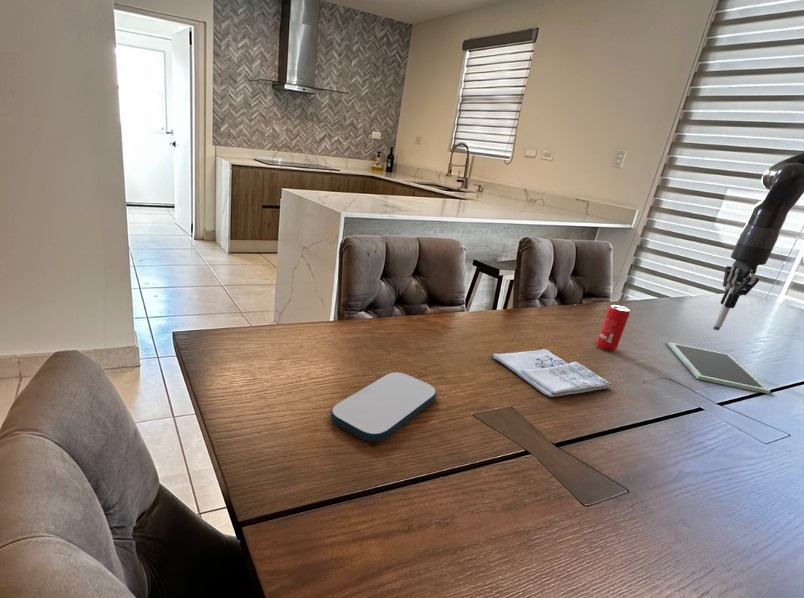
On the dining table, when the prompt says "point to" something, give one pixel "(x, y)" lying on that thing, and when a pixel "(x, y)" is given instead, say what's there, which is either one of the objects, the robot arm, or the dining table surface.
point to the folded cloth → (552, 373)
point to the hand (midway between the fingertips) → (726, 305)
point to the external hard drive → (383, 406)
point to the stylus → (721, 315)
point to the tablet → (717, 368)
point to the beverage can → (613, 327)
